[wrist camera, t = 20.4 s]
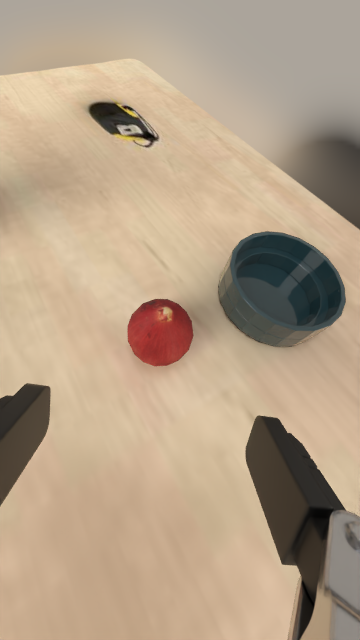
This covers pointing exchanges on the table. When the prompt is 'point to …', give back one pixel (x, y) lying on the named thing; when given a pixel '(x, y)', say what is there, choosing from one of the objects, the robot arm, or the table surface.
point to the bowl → (280, 289)
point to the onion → (160, 332)
